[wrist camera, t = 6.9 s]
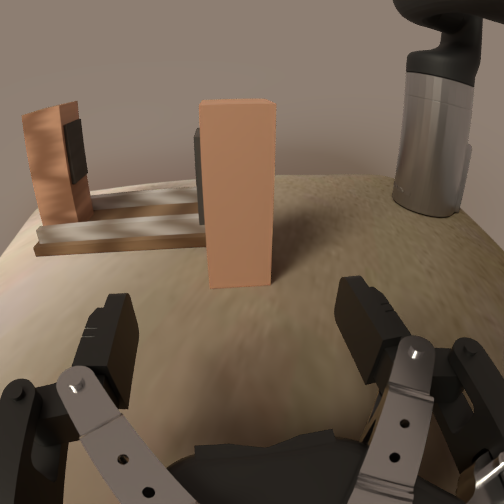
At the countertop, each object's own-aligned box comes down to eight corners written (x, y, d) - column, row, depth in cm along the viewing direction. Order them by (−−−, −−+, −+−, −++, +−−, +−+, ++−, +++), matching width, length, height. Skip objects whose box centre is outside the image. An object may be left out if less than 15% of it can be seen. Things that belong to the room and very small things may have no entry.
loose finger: (262, 253, 28) (265, 98, 21) (270, 285, 24) (276, 103, 18) (205, 257, 28) (196, 100, 21) (204, 288, 24) (192, 105, 17)
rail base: (216, 203, 38) (213, 83, 31) (218, 245, 29) (212, 85, 22) (69, 214, 36) (51, 106, 29) (36, 256, 27) (4, 121, 20)
